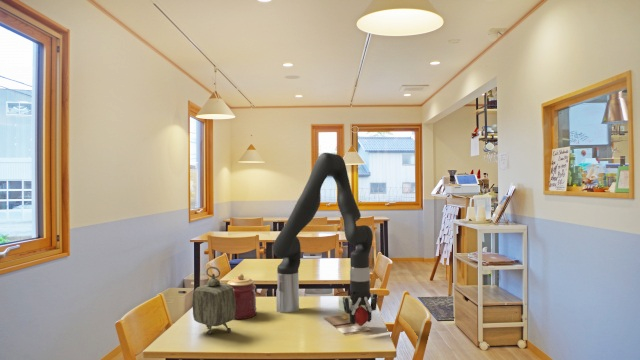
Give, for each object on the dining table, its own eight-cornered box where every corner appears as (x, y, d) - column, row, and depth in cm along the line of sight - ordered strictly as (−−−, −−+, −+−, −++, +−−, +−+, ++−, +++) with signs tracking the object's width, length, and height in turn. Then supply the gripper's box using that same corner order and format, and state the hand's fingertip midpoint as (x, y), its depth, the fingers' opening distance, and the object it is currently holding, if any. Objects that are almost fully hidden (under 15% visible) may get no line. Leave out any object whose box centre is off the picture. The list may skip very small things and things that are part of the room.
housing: (344, 314, 185) (344, 301, 185) (339, 310, 191) (338, 298, 191) (366, 311, 189) (366, 298, 189) (360, 307, 194) (360, 295, 194)
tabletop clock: (235, 331, 166) (234, 266, 166) (219, 339, 158) (218, 271, 158) (208, 325, 173) (207, 263, 173) (190, 332, 166) (189, 267, 166)
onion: (358, 322, 169) (358, 301, 169) (371, 325, 165) (371, 304, 165) (350, 326, 164) (349, 305, 164) (363, 329, 161) (362, 307, 161)
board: (345, 338, 158) (345, 334, 158) (322, 320, 178) (322, 316, 178) (372, 333, 162) (372, 330, 162) (347, 316, 182) (347, 313, 182)
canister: (253, 319, 180) (252, 277, 180) (222, 320, 180) (221, 277, 180) (258, 310, 193) (258, 270, 193) (229, 310, 193) (229, 270, 193)
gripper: (372, 274, 171) (372, 317, 171) (338, 278, 166) (339, 322, 166) (381, 278, 164) (382, 323, 164) (346, 282, 159) (347, 328, 159)
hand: (360, 322), depth 165 cm, fingers closed on onion, 6 cm apart
